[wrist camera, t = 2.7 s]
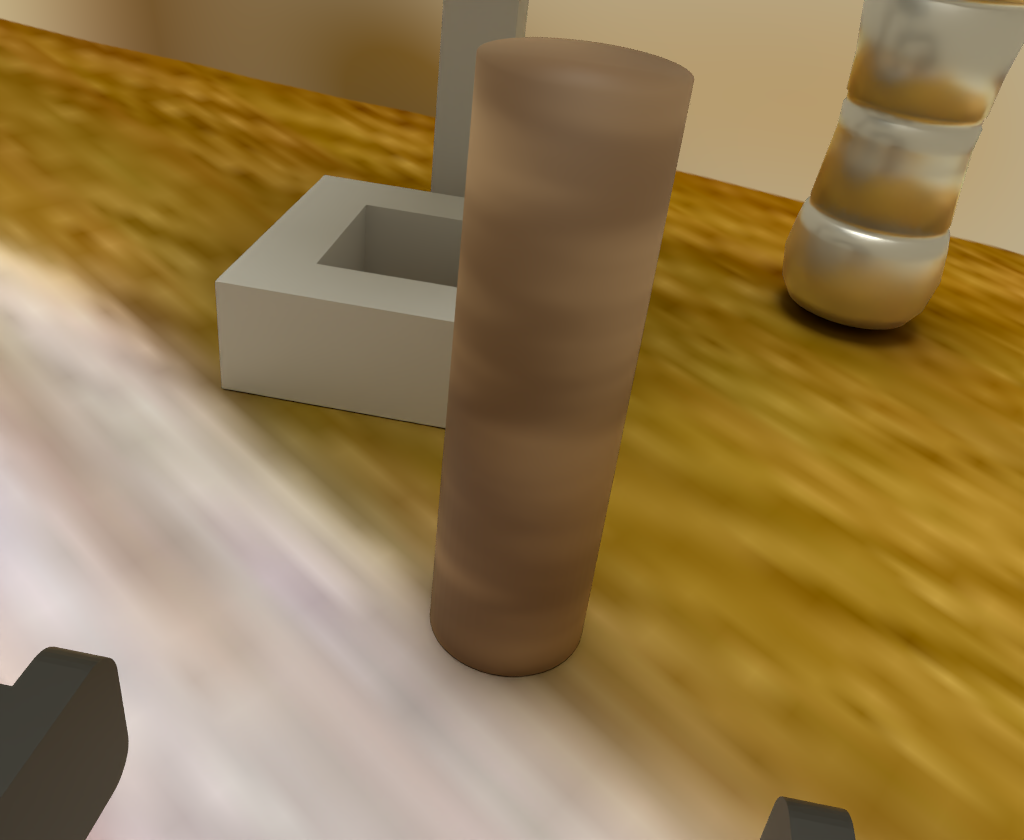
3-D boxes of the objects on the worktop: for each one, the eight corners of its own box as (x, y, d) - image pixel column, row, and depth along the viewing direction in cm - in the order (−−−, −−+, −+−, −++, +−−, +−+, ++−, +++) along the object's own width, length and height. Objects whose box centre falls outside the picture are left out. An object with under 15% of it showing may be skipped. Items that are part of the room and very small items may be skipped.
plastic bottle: (801, 270, 48) (943, -211, 37) (938, 317, 44) (1137, -192, 34) (747, 309, 43) (891, -228, 32) (895, 365, 40) (1109, -208, 29)
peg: (398, 624, 25) (431, 52, 17) (488, 546, 27) (551, 29, 20) (528, 702, 23) (630, 106, 15) (609, 611, 26) (728, 72, 18)
